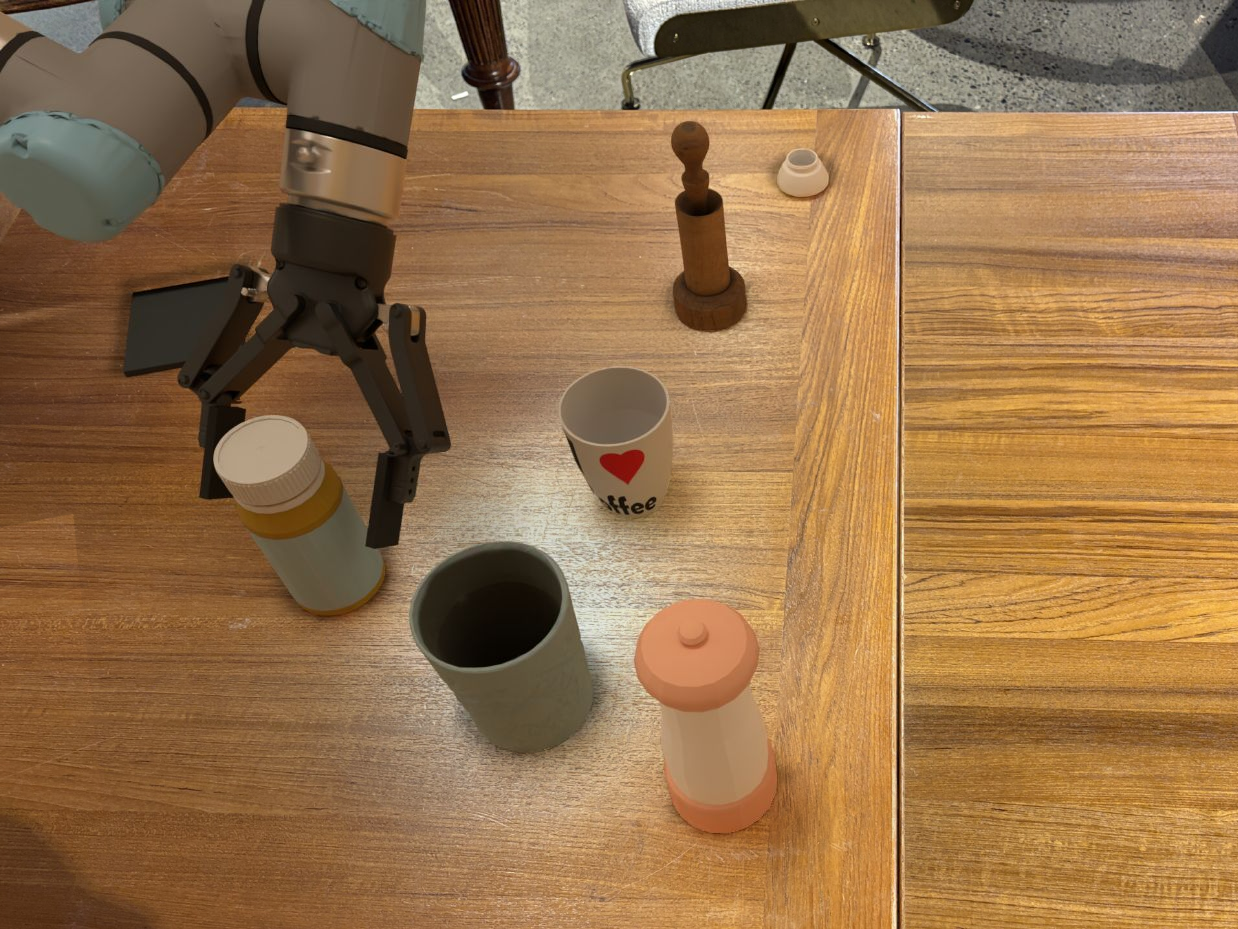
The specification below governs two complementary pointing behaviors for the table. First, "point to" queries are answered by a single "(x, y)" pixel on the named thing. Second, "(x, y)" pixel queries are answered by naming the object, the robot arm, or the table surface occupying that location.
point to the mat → (169, 324)
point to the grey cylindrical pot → (506, 643)
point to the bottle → (299, 514)
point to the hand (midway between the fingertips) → (298, 521)
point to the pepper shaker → (708, 713)
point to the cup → (620, 437)
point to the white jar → (802, 174)
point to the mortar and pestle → (703, 242)
